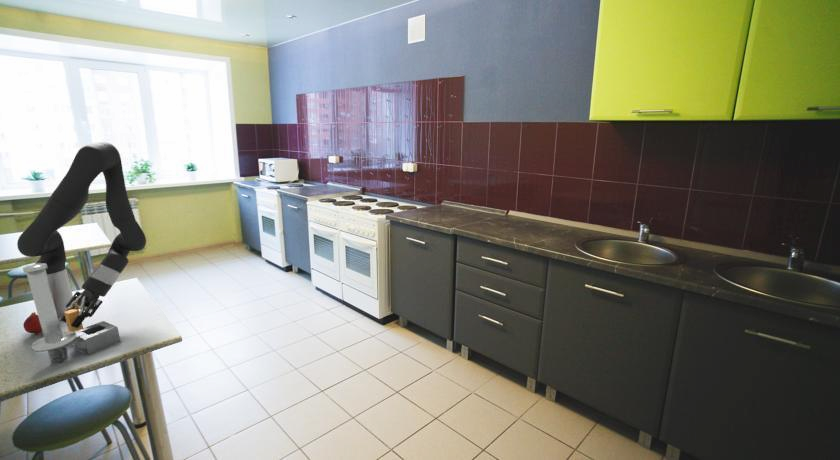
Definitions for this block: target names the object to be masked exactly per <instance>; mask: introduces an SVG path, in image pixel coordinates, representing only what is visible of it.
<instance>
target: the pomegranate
mask: <svg viewBox="0 0 840 460" xmlns="http://www.w3.org/2000/svg"><path fill="white" fill-rule="evenodd" d="M23 328H24V331H26V333H29V334H33V335H40V334H42V333H43V332H42V328H41V324H40V321H39V317H38V314H37V312H35V311H33V312H31V314H30V315H29V316H28V317H27V318H26V319H25V320H24V322H23Z"/></svg>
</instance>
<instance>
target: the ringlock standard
mask: <svg viewBox="0 0 840 460" xmlns="http://www.w3.org/2000/svg"><path fill="white" fill-rule="evenodd" d="M46 269H47V264H45V263H40V264H35V263H34V264H33V263H32V264H30V265H26V266H24V267H22V271H23V273H26V277H27V280H28V284H29V287H30V292H31V295H32V299H33V303H34V305H35V309H36V314H37V315H38V317H39V321H40V324H41V328H42V332H41V333H42V334H43V337H41V338H39V339H37V340H36V341H34V342H33V343H32V344H31V349H32V351H33V352H36V353H44V352H47V353H48V357H49V361H50V364H51V365H57V364H58V365H59V364H62V363H64V362H66V361H68V360H69V355H68V350H67V348H68V347H70V346H73V347H74V349H76V350H78V351H80V352H81V353H84V354H85V355H87V356H91V355H93V354H95V353H98V352H99V351H102V350H105V349H107V348H109V347H112V346H114V345H117V344H119V343H121V337H120V331H119V328H118V326H116V325H114V324H112V323H109V322H106V320H105V321H104V320H102V321H100V322H97V323H94V324H90V325H89V326H88V325H87V326H85V327H83V329H80V330H77V331H74V332H69V331H62V327H61V324H60V321H59V317H58V316H57V312H56V308H55V304H54V300H53V296H52V292H51V289H50V285H49V281H48V277H47V273H46Z"/></svg>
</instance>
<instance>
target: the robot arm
mask: <svg viewBox="0 0 840 460" xmlns="http://www.w3.org/2000/svg"><path fill="white" fill-rule="evenodd" d="M101 173H102V174H103V176H104V179H105V180H104V181H105V186H106V187H105V207H106V211H107V213H108V216H109V219H110V222H111V223H112V225H113V227H114V228H116V229H118V231H119V233H118V234H117V235H116V236H115V237H114V239H113V241H112V242H111V246H110V247H109V249H108V252H107V254H106V256H105V257H104V258H103V259H102V261H101V262H100V263H99V265H97V267H96V268H94V270H93V271H92V272H91V273H90V275H89V276H88V278H86V280H85V281H84V283H83V284H82V285H81V286H80V287H81V289H82V290H83V291H82V292H80V291H76V292H75V293H74V294H73V291H72V288H71V283H70V280H69V276H68V272H67V267H66V263H67V256H66V249H65V243H64V240H63V237H62V235H61V233H60V232H59V231H58V230H59V229H61V228H62V227H63V226H65V225H66V224H68V223H69V222H71V221H72V220H73V219H74V218H76V217H77V216H78V215H79V214H80V212H81V211H82V210H83V209H84V207H85V206H86V204H87V201H88V200H89V195H90V193H89V190H90V186H91V185H92V183H93V182H94V180H96V178H97V177H98V176H99V175H100V174H101ZM146 244H147V238H146V235H145V233H144V231H143V228H142V227H141V226H140V224H139V223H138V221H137V220H136V217H135V213H134V211H133V208H132V205H131V202H130V199H129V197H128V191H127V187H126V182H125V177H124V171H123V163H122V158H121V153H120V152H119V150H118V148H117V147H115V146H114V145H113V144H112V143H109V142H106V141H102V142H96V143H91V144H88V145H84V146H83V147H81V148H80V149H79V150H78V151H77V153H76V154H75V157H74V159H72V163H71V164H70V167H69V169H68V171H67V173H66V174H65V176H64V177H63V178H62V180H60V183H59V184H58V185H57V187H56V188H55V189H54V191H53V192H52V193H51V195H50V197H49V198H48V199H47V201H46V203H45V204H44V206H43V207H42V209H40V211H39V213H38V214H37V216H36V217H35V218H34V220H33V221H32V222H31V223H30V224H29V225H28V227H27V228H26V229H25V230H24V231H23V232H22V233H21V234H20V235H19V237H18V238H17V250H18V251H19V253H21V254H22V255H23V256H25V257H28V258H34V257H39V259H38V260H37V261H36V262H35V263H34V264H40V263H45V264H47V269H46V273H47V277H48V281H49V285H50V289H51V292H52V296H53V300H54V304H55V308H56V312H57V316H58V318H60V321H59V322H63V323H65V324H67V322H66V318H65V314H64V312H65V311H68V310H71V309H74V308H75V309H77V310H79V312H80V313H79V315H80V316H79V315H78V316H77V317H76V318H75V320H74V321H73V322H72V324H71V326H73V327H76V328H78V327H79V326H80V325H81V323H82V324H83V323H84V321H85V319H86V318H87V319H88V317H89V318H92V317H93V315H94V314H95V313H96V311H98V309H99V308H100V306H101V305H102V304H103V300H101V299H99V298H100V297H106V296H107V295H108V292H109V291H110V290H111V289H112V287H113V286H114V285H115V284H116V282H117V281H118V279H119V277H120V274H122V272H123V271H124V270H125V268H126V267H127V265H128V263H129V259H128V255H129V253H130V252H139V251H142V250H143V249H145V246H146Z"/></svg>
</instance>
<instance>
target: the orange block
mask: <svg viewBox="0 0 840 460" xmlns="http://www.w3.org/2000/svg"><path fill="white" fill-rule="evenodd" d="M79 313H80V309H79V310H77V309H75V308H74V309H71V310H68V311H65V312H64V314H65V318H66V322H67V323H66V326H67V329H68V332H74V331H77V330H80V329H83V328H84V325H83V322H82V323H81V325H80V326H79V327H78V328H76V327H73V326H71V324H72V322H73V321H74V320H75V318H76V317H77V316H78V315H79ZM79 316H80V315H79Z"/></svg>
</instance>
